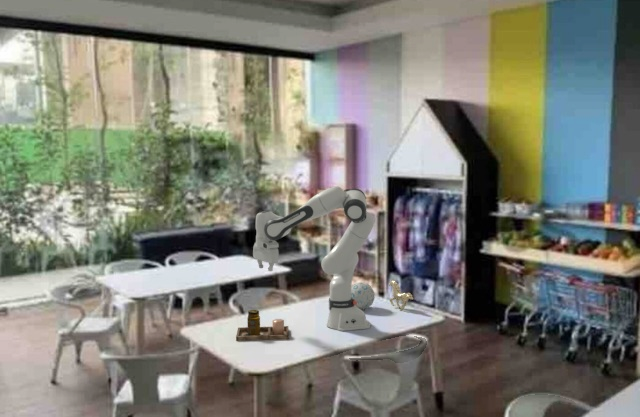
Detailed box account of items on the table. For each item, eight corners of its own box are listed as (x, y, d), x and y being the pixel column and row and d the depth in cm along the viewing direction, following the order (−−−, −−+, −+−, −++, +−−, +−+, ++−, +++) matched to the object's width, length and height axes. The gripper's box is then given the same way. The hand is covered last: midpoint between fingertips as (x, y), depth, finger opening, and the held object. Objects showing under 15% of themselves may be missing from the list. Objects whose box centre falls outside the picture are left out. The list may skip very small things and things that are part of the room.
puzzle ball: (346, 305, 333) (346, 280, 331) (371, 304, 335) (371, 279, 333) (350, 313, 318) (350, 286, 316) (377, 312, 320) (377, 285, 318)
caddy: (288, 330, 288) (288, 326, 288) (288, 340, 274) (288, 335, 274) (238, 332, 286) (238, 327, 286) (236, 341, 272) (236, 336, 272)
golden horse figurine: (415, 312, 318) (415, 282, 316) (410, 314, 315) (410, 283, 313) (391, 304, 334) (391, 275, 332) (386, 305, 332) (386, 276, 330)
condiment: (263, 334, 282) (263, 310, 280) (253, 339, 274) (253, 314, 273) (251, 331, 285) (251, 308, 284) (241, 336, 278) (240, 312, 277)
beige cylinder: (284, 332, 284) (283, 318, 283) (284, 336, 278) (284, 322, 277) (272, 332, 283) (272, 319, 283) (272, 336, 278) (272, 322, 277)
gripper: (249, 241, 297) (250, 267, 299) (269, 245, 281) (270, 273, 282) (260, 239, 301) (261, 265, 303) (280, 244, 284) (281, 271, 286)
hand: (265, 269), depth 292 cm, fingers open, 8 cm apart
